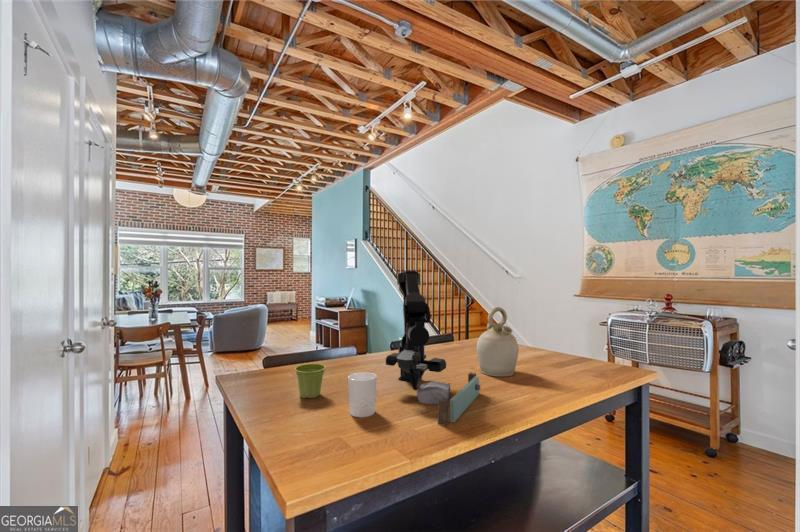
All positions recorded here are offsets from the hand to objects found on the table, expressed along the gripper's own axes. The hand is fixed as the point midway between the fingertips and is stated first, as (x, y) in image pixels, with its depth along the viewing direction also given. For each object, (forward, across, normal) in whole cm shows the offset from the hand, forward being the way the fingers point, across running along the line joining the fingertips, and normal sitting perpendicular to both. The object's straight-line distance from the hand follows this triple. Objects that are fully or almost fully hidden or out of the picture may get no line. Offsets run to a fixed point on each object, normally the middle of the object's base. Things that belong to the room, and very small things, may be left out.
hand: (415, 389), depth 114 cm
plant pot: (+2, -28, -16) cm, 33 cm away
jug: (+2, +17, +37) cm, 41 cm away
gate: (+1, +18, -3) cm, 18 cm away
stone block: (+2, +6, +1) cm, 6 cm away
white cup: (+2, -6, -20) cm, 21 cm away
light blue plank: (+2, +15, -3) cm, 16 cm away
